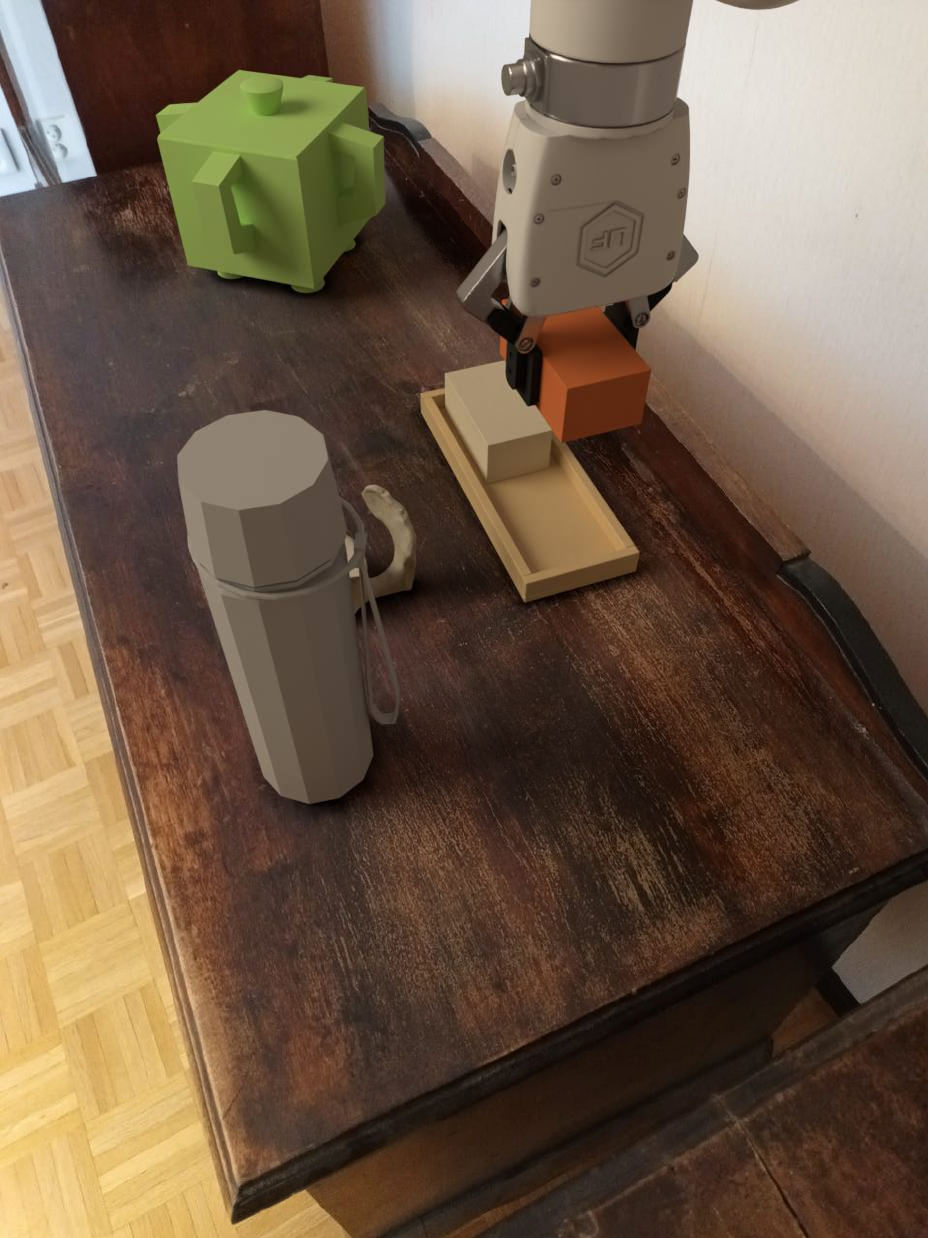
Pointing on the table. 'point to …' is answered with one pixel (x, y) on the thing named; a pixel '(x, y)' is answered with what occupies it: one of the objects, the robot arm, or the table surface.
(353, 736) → the water bottle
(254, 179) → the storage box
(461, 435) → the cream rectangular block
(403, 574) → the bone
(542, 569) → the wooden tray
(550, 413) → the orange angular block
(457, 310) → the table surface
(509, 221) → the robot arm
